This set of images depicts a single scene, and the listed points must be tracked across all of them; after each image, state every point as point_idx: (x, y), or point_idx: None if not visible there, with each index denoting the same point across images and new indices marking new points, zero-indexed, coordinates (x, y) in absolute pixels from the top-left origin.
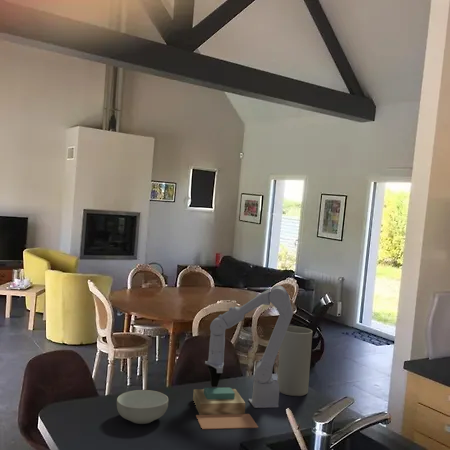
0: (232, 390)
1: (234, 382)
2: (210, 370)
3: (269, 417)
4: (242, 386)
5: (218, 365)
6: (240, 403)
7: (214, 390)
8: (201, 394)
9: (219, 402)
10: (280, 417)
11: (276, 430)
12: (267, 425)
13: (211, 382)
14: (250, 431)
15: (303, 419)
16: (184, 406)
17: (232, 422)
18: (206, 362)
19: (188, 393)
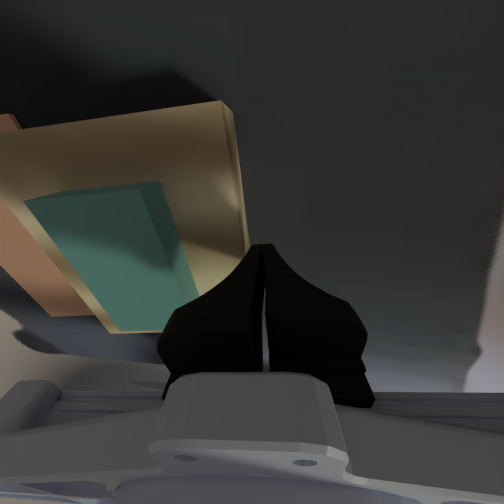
0: (155, 329)
1: (430, 320)
2: (166, 327)
3: (138, 344)
4: (379, 333)
5: (65, 497)
6: (101, 319)
7: (115, 253)
8: (129, 162)
9: (54, 251)
10: (148, 360)
11: (65, 341)
12: (83, 332)
13: (245, 255)
14: (15, 295)
15: (153, 384)
16: (117, 35)
17: (35, 262)
18: (164, 454)
19: (351, 85)
